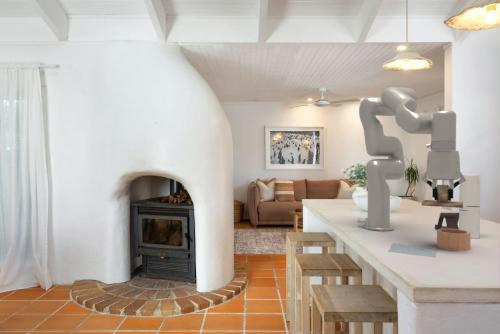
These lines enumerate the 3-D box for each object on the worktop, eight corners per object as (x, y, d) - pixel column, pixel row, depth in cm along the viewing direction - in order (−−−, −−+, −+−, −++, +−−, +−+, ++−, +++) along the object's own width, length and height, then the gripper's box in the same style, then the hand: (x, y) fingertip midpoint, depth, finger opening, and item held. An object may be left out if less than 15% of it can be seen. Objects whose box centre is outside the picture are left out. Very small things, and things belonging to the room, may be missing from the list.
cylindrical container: (480, 239, 137) (480, 175, 137) (458, 237, 141) (459, 175, 141) (479, 236, 143) (480, 174, 143) (459, 234, 147) (459, 174, 147)
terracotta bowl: (436, 249, 121) (436, 232, 121) (437, 243, 129) (437, 227, 129) (470, 253, 116) (471, 235, 116) (469, 247, 124) (469, 230, 124)
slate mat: (387, 252, 116) (387, 251, 116) (393, 244, 128) (393, 243, 128) (435, 258, 109) (435, 257, 109) (436, 249, 121) (436, 247, 121)
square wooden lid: (421, 205, 119) (421, 185, 119) (424, 202, 130) (424, 183, 129) (462, 207, 113) (463, 186, 113) (462, 204, 123) (463, 184, 123)
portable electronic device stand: (454, 229, 158) (454, 210, 158) (464, 232, 150) (464, 213, 150) (434, 229, 158) (434, 210, 158) (443, 232, 151) (444, 213, 150)
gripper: (415, 147, 122) (415, 199, 122) (472, 146, 114) (471, 202, 114) (417, 147, 129) (417, 198, 129) (471, 147, 120) (470, 200, 120)
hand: (442, 199), depth 121 cm, fingers closed on square wooden lid, 3 cm apart
